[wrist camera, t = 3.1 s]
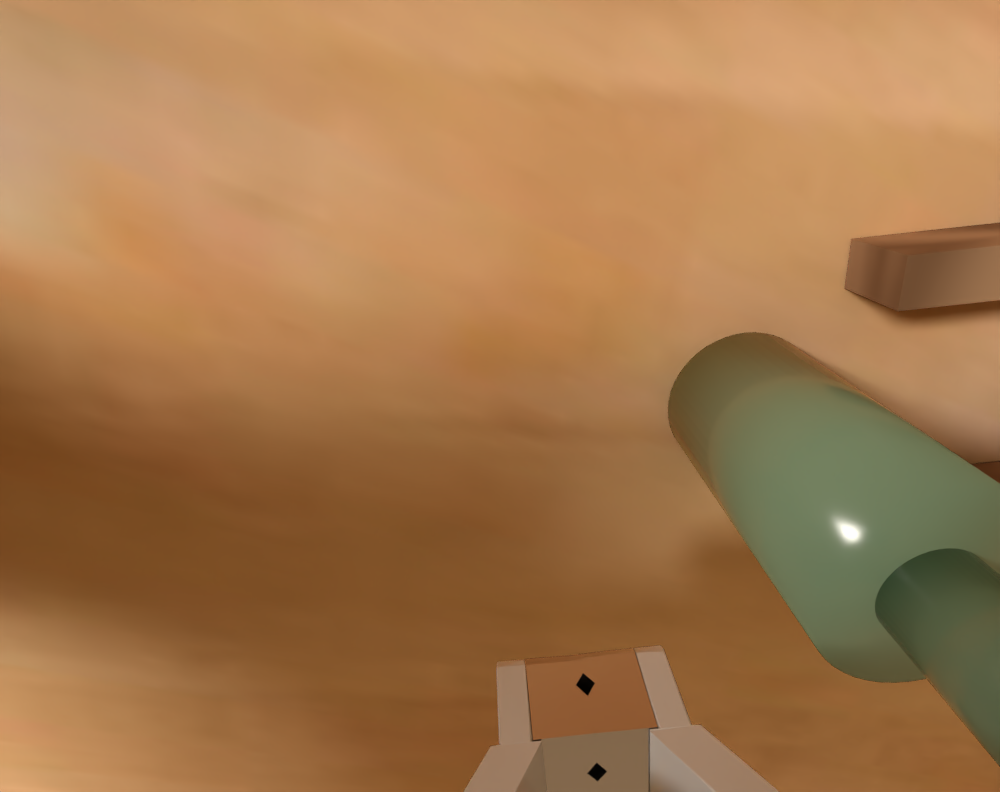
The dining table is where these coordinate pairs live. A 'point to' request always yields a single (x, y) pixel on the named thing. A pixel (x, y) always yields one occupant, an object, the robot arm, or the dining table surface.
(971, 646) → the bottle
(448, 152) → the dining table surface
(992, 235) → the cradle
